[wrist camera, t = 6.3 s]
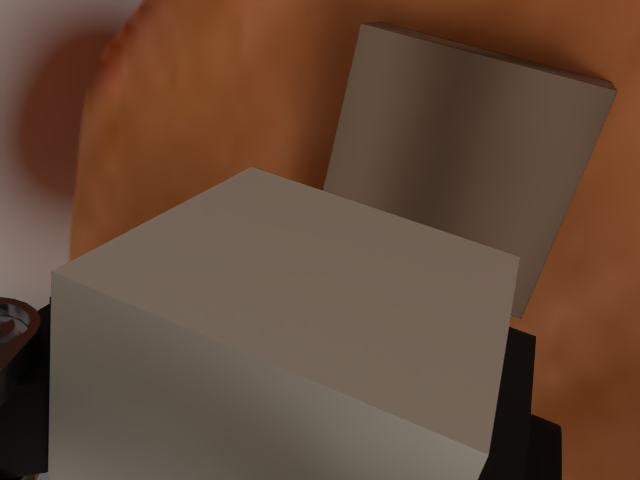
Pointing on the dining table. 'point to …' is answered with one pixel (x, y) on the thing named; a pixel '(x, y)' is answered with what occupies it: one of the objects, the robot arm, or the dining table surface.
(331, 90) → the dining table surface
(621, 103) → the dining table surface
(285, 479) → the cube
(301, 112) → the dining table surface
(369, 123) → the base
